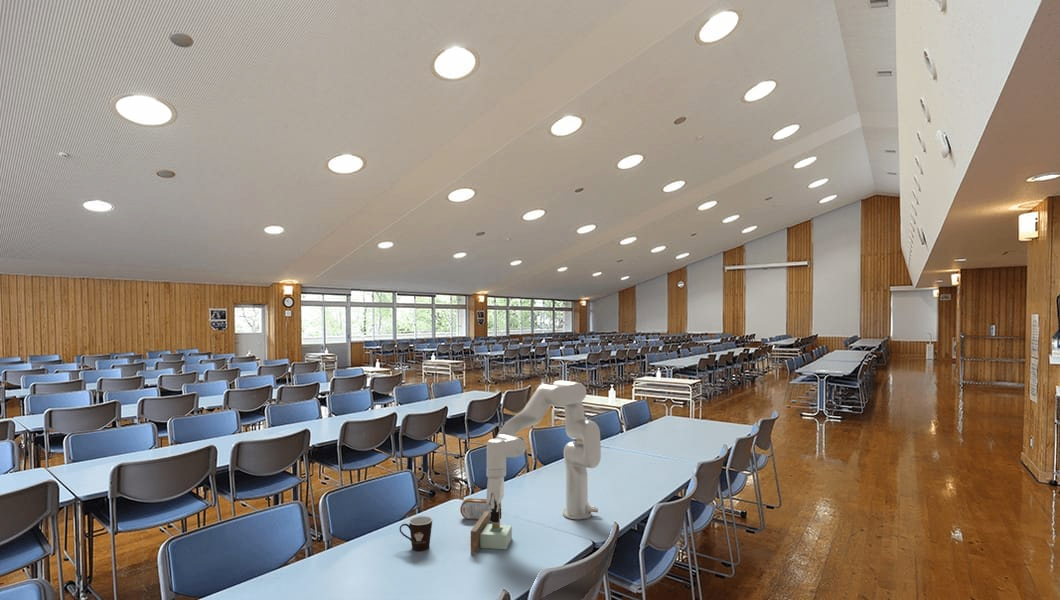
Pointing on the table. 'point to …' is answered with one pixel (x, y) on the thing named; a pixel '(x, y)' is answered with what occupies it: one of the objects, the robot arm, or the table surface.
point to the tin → (474, 508)
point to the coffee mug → (419, 532)
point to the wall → (479, 531)
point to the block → (496, 537)
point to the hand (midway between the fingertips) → (495, 519)
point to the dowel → (497, 525)
